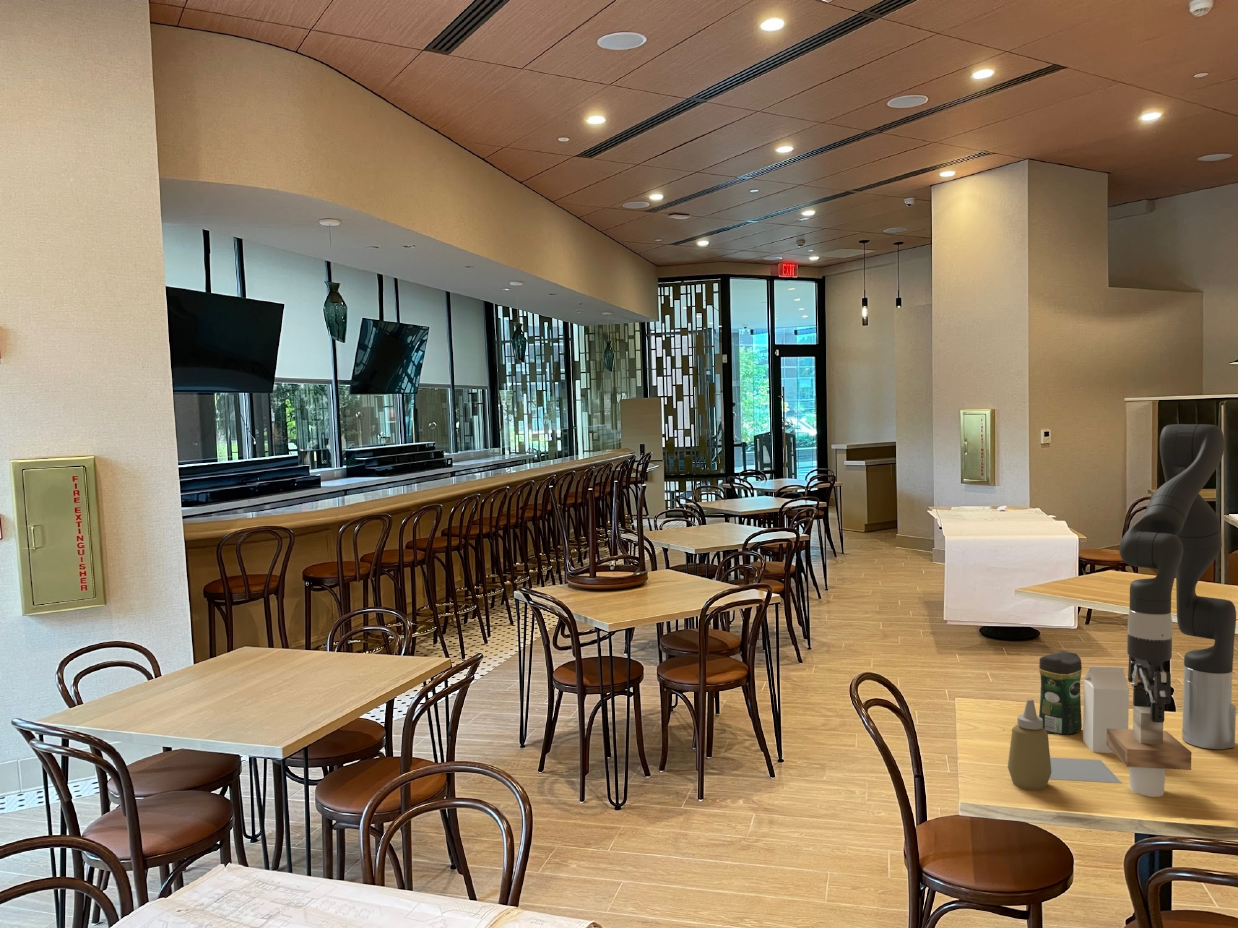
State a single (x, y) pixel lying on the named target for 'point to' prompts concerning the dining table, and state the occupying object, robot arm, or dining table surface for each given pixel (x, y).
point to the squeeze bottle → (1029, 751)
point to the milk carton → (1104, 705)
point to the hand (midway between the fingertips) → (1148, 714)
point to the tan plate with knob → (1148, 744)
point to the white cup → (1147, 781)
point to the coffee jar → (1060, 693)
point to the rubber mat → (1081, 770)
